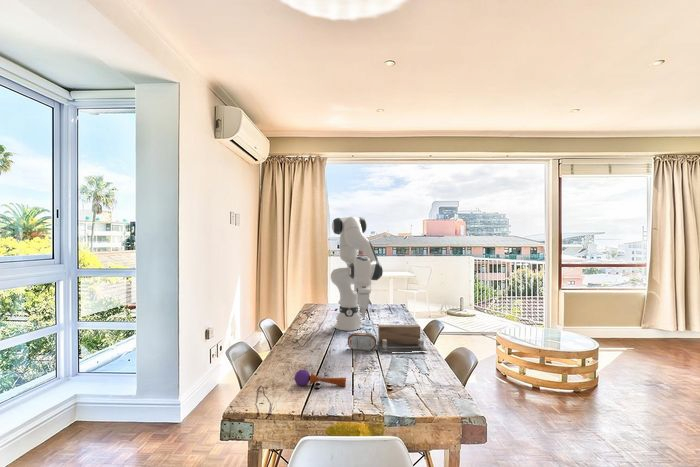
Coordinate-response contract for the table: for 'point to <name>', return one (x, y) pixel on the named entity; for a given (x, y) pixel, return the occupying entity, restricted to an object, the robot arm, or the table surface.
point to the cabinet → (399, 338)
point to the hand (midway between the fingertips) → (362, 314)
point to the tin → (362, 341)
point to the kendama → (316, 379)
